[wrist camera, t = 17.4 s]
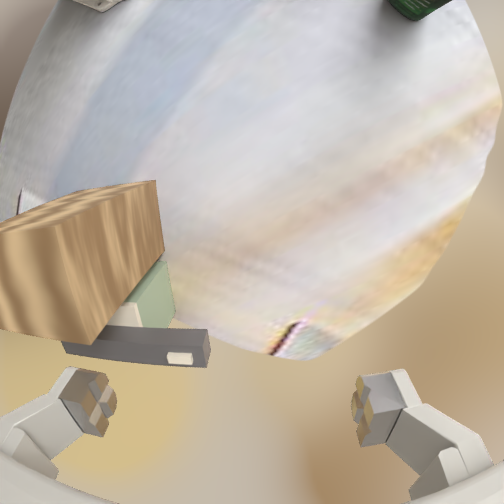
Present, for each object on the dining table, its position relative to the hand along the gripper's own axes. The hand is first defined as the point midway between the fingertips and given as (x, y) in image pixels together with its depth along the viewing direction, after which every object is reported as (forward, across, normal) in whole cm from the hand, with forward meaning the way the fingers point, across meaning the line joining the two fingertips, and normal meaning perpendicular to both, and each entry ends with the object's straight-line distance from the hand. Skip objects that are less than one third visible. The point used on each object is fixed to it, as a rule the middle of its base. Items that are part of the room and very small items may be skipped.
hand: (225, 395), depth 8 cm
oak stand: (+39, +24, +4) cm, 46 cm away
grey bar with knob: (+24, +18, +16) cm, 34 cm away
